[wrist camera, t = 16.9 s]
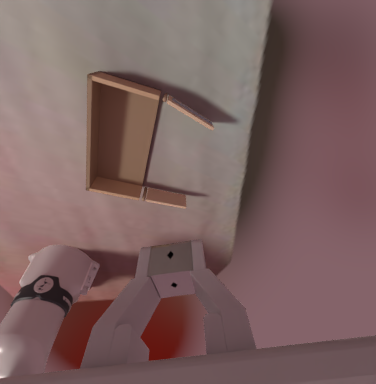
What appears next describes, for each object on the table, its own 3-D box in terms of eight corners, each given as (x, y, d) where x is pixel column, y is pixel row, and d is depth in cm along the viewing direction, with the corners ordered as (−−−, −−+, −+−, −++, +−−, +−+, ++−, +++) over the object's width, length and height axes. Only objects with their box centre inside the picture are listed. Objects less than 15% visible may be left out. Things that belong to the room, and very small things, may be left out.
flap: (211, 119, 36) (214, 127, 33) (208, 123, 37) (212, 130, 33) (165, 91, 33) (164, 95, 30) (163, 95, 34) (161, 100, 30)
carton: (142, 186, 45) (138, 200, 40) (94, 176, 43) (86, 190, 38) (161, 90, 34) (159, 96, 30) (98, 71, 32) (87, 74, 28)
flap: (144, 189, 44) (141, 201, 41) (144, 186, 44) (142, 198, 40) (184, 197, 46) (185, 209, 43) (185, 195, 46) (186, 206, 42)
